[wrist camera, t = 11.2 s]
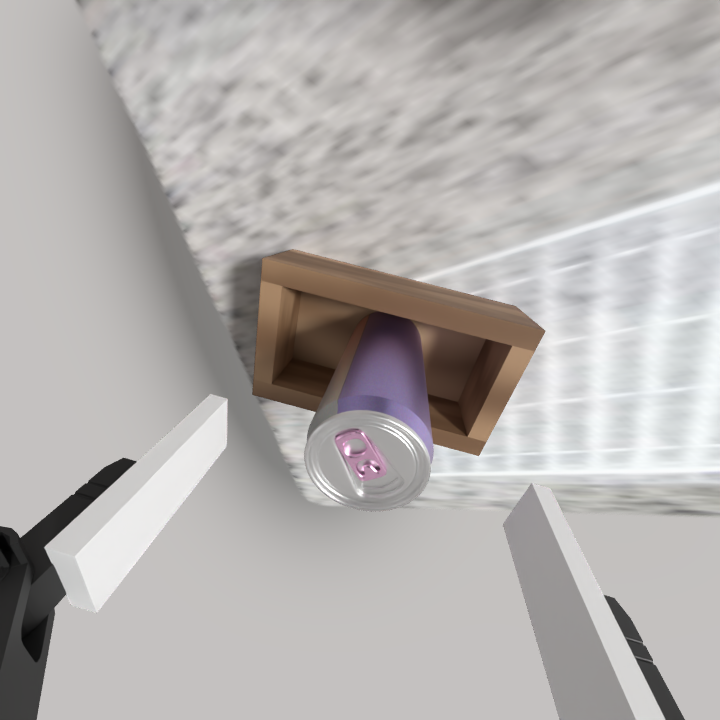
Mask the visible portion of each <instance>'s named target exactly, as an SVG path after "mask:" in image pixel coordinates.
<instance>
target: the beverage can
mask: <svg viewBox="0 0 720 720" xmlns="http://www.w3.org/2000/svg"><path fill="white" fill-rule="evenodd" d="M432 459H433V440H432V431H431V422H430V413H429V404H428V396H427V387H426V378H425V369H424V360H423V351H422V343H421V336H420V333H419V331H418V329H417V327H416V326H415V324H414V323H413V322H412V321H411V320H410V319H407V318H403V317H399V316H396V315H392V314H388V313H384V312H380V311H378V312H374V313H372V314H370V315H368V316H366V317H365V318H363V319H362V320H361V321H360V322H359V323H358V325H357V326H356V328H355V330H354V332H353V334H352V336H351V338H350V340H349V342H348V345H347V347H346V349H345V351H344V353H343V355H342V357H341V360H340V362H339V364H338V366H337V368H336V370H335V372H334V375H333V377H332V379H331V381H330V383H329V385H328V387H327V390H326V392H325V394H324V396H323V398H322V400H321V402H320V405H319V407H318V409H317V411H316V413H315V415H314V417H313V420H312V422H311V424H310V426H309V429H308V434H307V443H306V447H305V452H304V461H305V466H306V469H307V472H308V474H309V476H310V478H311V480H312V481H313V483H314V484H315V485H316V486H317V488H318V489H319V490H320V491H321V492H323V493H324V494H325V495H326V496H328V497H329V498H331V499H332V500H334V501H336V502H338V503H340V504H342V505H344V506H347V507H350V508H353V509H357V510H363V511H386V510H392V509H396V508H399V507H402V506H404V505H406V504H408V503H410V502H411V501H413V500H414V499H415V498H417V497H418V496H419V495H420V494H421V492H422V491H423V490H424V488H425V487H426V485H427V483H428V481H429V477H430V472H431V463H432Z"/></svg>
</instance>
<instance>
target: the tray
mask: <svg viewBox="0 0 720 720" xmlns="http://www.w3.org/2000/svg"><path fill="white" fill-rule="evenodd" d="M378 311H380V312H384V313H388V314H392V315H396V316H399V317H403V318H407V319H410V320H411V321H412V322H413V323H414V324H415V326H416V327H417V329H418V331H419V333H420V336H421V343H422V351H423V360H424V369H425V378H426V387H427V396H428V404H429V413H430V422H431V431H432V440H433V444H436V445H440V446H444V447H448V448H451V449H455V450H459V451H462V452H466V453H470V454H473V455H477V456H479V455H480V453H481V451H482V449H483V447H484V445H485V443H486V442H487V440H488V438H489V436H490V434H491V432H492V430H493V428H494V427H495V425H496V423H497V421H498V419H499V417H500V415H501V414H502V412H503V410H504V408H505V406H506V404H507V402H508V400H509V399H510V397H511V395H512V393H513V391H514V389H515V387H516V385H517V384H518V382H519V380H520V378H521V376H522V374H523V372H524V370H525V369H526V367H527V365H528V363H529V361H530V359H531V357H532V355H533V354H534V352H535V350H536V348H537V346H538V344H539V342H540V340H541V339H542V337H543V335H544V333H545V330H544V329H543V328H541V327H540V326H539V325H538V324H537V323H535V322H534V321H533V320H532V319H530V318H529V317H528V316H527V315H526V314H524V313H523V312H522V311H521V310H520V309H518V308H517V307H516V306H513V305H509V304H505V303H501V302H497V301H493V300H489V299H485V298H481V297H477V296H474V295H470V294H466V293H462V292H458V291H454V290H450V289H446V288H442V287H438V286H434V285H431V284H427V283H423V282H419V281H415V280H411V279H407V278H403V277H399V276H395V275H391V274H388V273H384V272H380V271H376V270H372V269H368V268H364V267H360V266H356V265H352V264H348V263H345V262H341V261H337V260H333V259H329V258H325V257H321V256H317V255H313V254H309V253H305V252H302V251H298V250H294V249H292V250H289V251H285V252H282V253H278V254H275V255H272V256H268V257H265V258H262V272H261V285H260V299H259V312H258V325H257V339H256V352H255V366H254V379H253V392H252V394H253V395H255V396H259V397H263V398H266V399H270V400H274V401H277V402H281V403H285V404H289V405H292V406H296V407H300V408H303V409H307V410H311V411H314V412H316V411H317V409H318V407H319V405H320V402H321V400H322V398H323V396H324V394H325V392H326V390H327V387H328V385H329V383H330V381H331V379H332V377H333V375H334V372H335V370H336V368H337V366H338V364H339V362H340V360H341V357H342V355H343V353H344V351H345V349H346V347H347V345H348V342H349V340H350V338H351V336H352V334H353V332H354V330H355V328H356V326H357V325H358V323H359V322H360V321H361V320H362V319H363V318H365V317H366V316H368V315H370V314H372V313H374V312H378Z"/></svg>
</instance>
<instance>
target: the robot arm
mask: <svg viewBox="0 0 720 720" xmlns="http://www.w3.org/2000/svg"><path fill="white" fill-rule="evenodd" d="M227 400H228V399H227V398H223V397H219V396H216V395H212V394H210V395H209V396H208V397H207V398H206V399H205V400H203V401H202V402H201V403H200V404H199V405H198V406H197V407H196V408H195V409H194V410H193V411H192V412H190V413H189V414H188V415H187V416H186V417H185V418H184V419H183V420H182V421H181V422H180V423H178V425H176V426H175V427H174V428H173V429H172V430H171V431H170V432H169V433H168V434H167V435H165V436H164V437H163V438H162V439H161V440H160V441H159V442H158V443H157V444H156V445H155V446H153V448H151V449H150V450H149V451H148V452H147V453H146V454H145V455H144V456H143V457H142V458H140V459H139V460H138V461H137V462H136V461H133V460H130V459H126V458H122V459H120V460H118V461H116V462H114V463H112V464H110V465H108V466H106V467H104V468H103V469H102V470H101V471H100V472H98V473H97V474H96V475H95V476H94V477H93V478H91V479H90V480H89V482H88V483H87V484H84V485H83V486H82V487H81V488H79V489H78V490H77V491H76V492H75V494H74V495H71V496H70V497H69V498H68V499H66V500H65V501H64V502H63V503H62V504H60V505H59V506H58V507H57V508H56V509H55V510H53V511H52V512H51V513H50V514H48V515H47V516H46V517H45V518H44V519H43V520H41V521H40V522H39V523H38V524H37V525H35V526H34V527H33V528H32V529H31V530H30V531H28V532H27V533H26V534H25V535H24V536H22V537H21V538H20V537H19V535H18V534H17V533H16V532H15V531H14V530H13V529H12V528H7V527H1V526H0V720H36V719H37V714H38V708H39V701H40V696H41V691H42V685H43V679H44V673H45V668H46V662H47V656H48V650H49V644H50V639H51V633H52V627H53V621H54V616H55V610H54V607H55V606H56V605H57V604H58V603H59V602H60V601H61V600H62V598H63V597H64V596H65V595H66V596H67V598H68V600H69V603H70V605H72V606H75V607H78V608H82V609H85V610H88V611H91V612H95V613H97V612H98V611H99V610H100V608H101V607H102V606H103V604H104V603H105V602H106V600H107V599H108V598H109V597H110V595H111V594H112V593H113V592H114V590H115V589H116V588H117V586H118V585H119V584H120V583H121V581H122V580H123V579H124V577H125V576H126V575H127V574H128V572H129V571H130V570H131V568H132V567H133V566H134V564H135V563H136V562H137V561H138V559H139V558H140V557H141V556H142V554H143V553H144V552H145V550H146V549H147V548H148V546H149V545H150V544H151V543H152V541H153V540H154V539H155V538H156V536H157V535H158V534H159V533H160V531H161V530H162V529H163V527H164V526H165V525H166V524H167V522H168V521H169V520H170V518H171V517H172V516H173V515H174V513H175V512H176V511H177V509H178V508H179V507H180V506H181V504H182V503H183V502H184V500H185V499H186V498H187V496H188V495H189V494H190V493H191V491H192V490H193V489H194V488H195V486H196V485H197V484H198V482H199V481H200V480H201V479H202V477H203V476H204V475H205V473H206V472H207V471H208V470H209V468H210V467H211V466H212V464H213V463H214V462H215V461H216V459H217V458H218V457H219V455H220V454H221V453H222V452H223V450H224V449H225V448H226V446H227V402H228V401H227ZM503 526H504V530H505V533H506V536H507V540H508V544H509V547H510V550H511V554H512V557H513V561H514V564H515V568H516V571H517V574H518V578H519V581H520V584H521V588H522V592H523V595H524V599H525V602H526V605H527V609H528V612H529V616H530V619H531V623H532V626H533V630H534V633H535V636H536V640H537V643H538V647H539V650H540V653H541V657H542V661H543V664H544V667H545V671H546V674H547V678H548V681H549V685H550V688H551V692H552V695H553V699H554V702H555V705H556V709H557V712H558V715H559V719H560V720H685V719H684V717H683V715H682V714H681V712H680V710H679V708H678V706H677V704H676V702H675V700H674V699H673V697H672V695H671V693H670V691H669V689H668V687H667V686H666V684H665V682H664V680H663V678H662V676H661V674H660V672H659V671H658V669H657V667H656V666H655V665H654V664H653V659H652V658H651V656H650V654H649V652H648V650H647V648H646V646H644V645H643V641H642V639H641V637H640V635H639V633H638V631H637V630H636V628H635V626H634V624H633V622H632V620H631V619H630V617H629V616H628V615H627V614H626V612H625V611H624V610H623V608H622V607H621V606H620V605H619V603H618V602H617V601H616V600H615V598H612V597H609V596H605V595H603V593H602V591H601V589H600V587H599V585H598V583H597V581H596V579H595V577H594V575H593V573H592V571H591V569H590V567H589V565H588V563H587V561H586V559H585V557H584V555H583V553H582V551H581V549H580V547H579V545H578V543H577V541H576V539H575V537H574V535H573V533H572V531H571V529H570V527H569V525H568V523H567V521H566V519H565V517H564V515H563V513H562V511H561V509H560V507H559V505H558V503H557V501H556V499H555V497H554V495H553V493H552V491H551V489H550V488H548V487H544V486H541V485H537V484H533V483H532V484H531V485H530V486H529V488H528V489H527V491H526V492H525V494H524V495H523V496H522V498H521V499H520V501H519V502H518V503H517V505H516V506H515V508H514V509H513V511H512V512H511V513H510V515H509V516H508V518H507V519H506V521H505V522H504V524H503Z"/></svg>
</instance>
